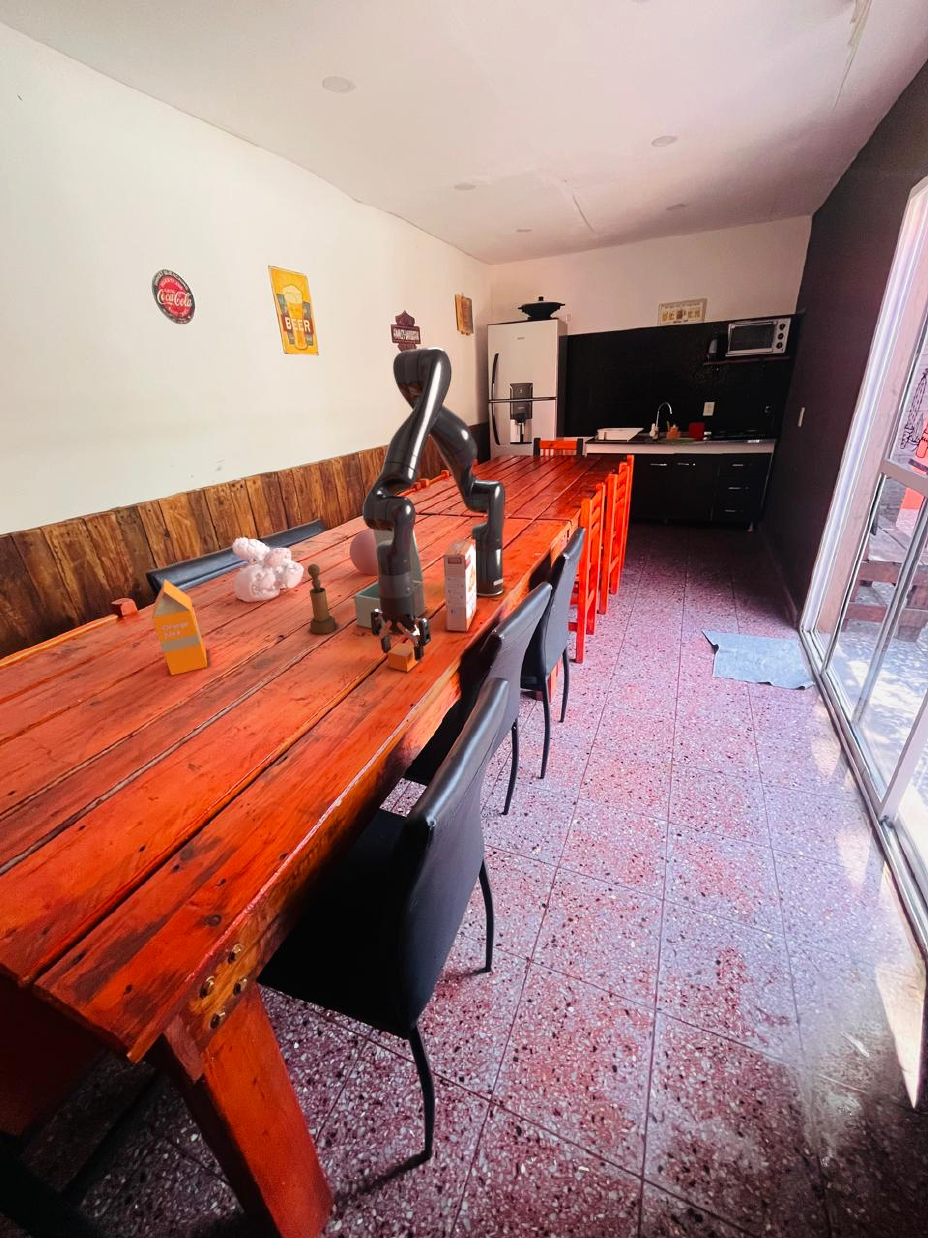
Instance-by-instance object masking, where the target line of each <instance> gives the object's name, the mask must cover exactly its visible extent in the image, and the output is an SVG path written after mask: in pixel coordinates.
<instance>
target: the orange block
mask: <svg viewBox="0 0 928 1238" xmlns="http://www.w3.org/2000/svg"><path fill="white" fill-rule="evenodd" d="M387 660H388V661H387V662H388V667H389V668H391V669H394V670H398V671H401V672H402V671H403V672H407V673H408V672H409V671H411V670H412V669H413V668H414V667H415V666H416V665H417V664H418V663H419V662H420V660H419V661H415V657H414V645H412V644H408V643H403V642H398V643H397V644H396V645H394V646H393V647H391V650H390V651H388V653H387Z"/></svg>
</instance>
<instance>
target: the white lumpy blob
mask: <svg viewBox="0 0 928 1238" xmlns="http://www.w3.org/2000/svg"><path fill="white" fill-rule="evenodd" d="M231 548H232V552H233V554H234V555H236V556H237V557H238V558H239V559H241V560H243V561H248V563H249V564H250V565H247V566H246V567H240V568H239V572H237V574H236V575H235V577H234V581H233V584H234V585H233V587H234V589H233V590H234V594H235V596H236V597H237V598H238V600H242V601H243V602H246V603H255V602H262V601H263V602H264V601H268V600H271V599H273V598H275V597H277V596H278V595H279V594H280V592H281V589H289V590H290V589H294V588H295V587H297V585H298V584H300V583H301V581H302V579H303V575H304V574H303V573H304V570H305V569H304V566H303V565H301V563H299V562H296V561H294V560H292V551H291V549H289V548H287V547H282V546H281V547H276V548H270V547H269V546H267V545H266V543H264V542H262V541H260V540H258V539H256V538H249V539H248V537H245V536H243V537H241V536H240V537H239V538H238V537H237V538H236V539H234V542H232V545H231ZM255 562H256V563H255Z"/></svg>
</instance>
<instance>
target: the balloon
mask: <svg viewBox="0 0 928 1238" xmlns="http://www.w3.org/2000/svg"><path fill="white" fill-rule="evenodd" d="M376 547H377V544H376V540H375V536H374V532H373V529H370V528H366V529H364V530H362V531H360V532H358V533H357V534H356V535H354V537H353V539H352V540H351V542H350V545H349V557H350V560H351V563H352V564H353V566H354V567H355V568H356V569H357V570H358V571H360V572H361V573H363V574H365V575H368V576H369V575H370V576H378V568H377V559H376Z"/></svg>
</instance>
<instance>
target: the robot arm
mask: <svg viewBox="0 0 928 1238" xmlns="http://www.w3.org/2000/svg"><path fill="white" fill-rule="evenodd" d="M392 374H393V378H394V380H395V381H394V382H395V384H396V386H397V388H398V390H399V392H400V395H402V397H403V399H404V401H406V403H407V404H408V405H409V407H410V408H411V409H412V411H411V412H410V414H409V415H408V416H407V418H406V419H404V421H403V422H402V424H401V425H400V426H399V427H398V428H397V430H396V431H395V433H394V434H393V436H392V437H391V439H390V441H389V444H388V446H387V448H386V449H387V450H386V453H385V457H384V460H383V464H382V468H381V471H380V473H379V474H378V477H377V478H376V480H375V482H374V483H373V484H372V487H371V488H370V490H369V492H368V494H367V495H366V497H365V499H364V502H363V505H362V519H363V521H364V524H365V525H366V527H367V528H368V529H373V530H380V531H390V532H393V540H388V541H384V542H381V543H379V544H378V545H377V547H376V559H377V568H378V575H377V581H378V589H379V597H380V607H381V609H380V608H377V609H375V610H374V611H372V612H371V613H370V614H371V628H370V629H371V635H373V636H376V637H378V638H379V640H380V647H381V648H380V649H381V650H382V653H383V654H386V655H388V651H390V650H391V649H392V646H391V635H390V633H391V631H392V634H396V633H397V634H399V635H402V636H405V637H406V639H407V640H409V641H410V642H411V643H412V644H413V646H414V657H415V661H419V662H420V660H422V659H423V657H424V656H425V649H424V647H425V646H427V645H428V644H429V643H430V642H431V641H432V636H431V628H430V620H429V618H428V617H427V616H424V617H423V618H420V617H418V618H417V617H416V615H415V595H414V582H413V581H414V580H413V575H412V571H411V560H410V546H411V540H412V534H413V529H414V528H415V525H416V518H417V512H416V508H415V507H416V506H415V505H414V503H413V501H412V500H411V499H410V498H408V497H406V496H401V495H397V494H399V493H402V492H405V491H409V490H411V489H412V488H413V487H414V486H415V484H416V480H417V478H418V477H417V476H418V472H419V468H420V465H421V462H422V457H423V453H424V451H425V447H426V443H427V441H428V438H429V437H430V438H431V440H432V442H433V444H434V446H435V448H436V450H437V452H438V454H439V456H440V457H441V459H442V461H443V462H444V464H445V466H446V467H447V468H448V471H449V472H450V475H451V477H452V478H453V480H454V482H455V485H456V487H457V489H458V492H459V496H460V497H461V500H462V501H463V504H464V506H465V508H466V509H467V510H468V511H469V512H471V513H473V514H481V515H487V518H486V521H485V522H481V523H478V524H475V525H473V526H471V529H470V539H474V540H476V596H478V597H485V598H488V597H489V598H490V597H496V596H499V595H501V594H502V593H503V592H504V577H503V576H504V527H505V512H506V511H505V509H506V489H505V486H504V484H503V482H502V481H499V480H490V479H489V480H487V479H478V478H477V477H476V476H475V474H474V472H473V468H474V466H475V464H476V461H477V457H478V445H477V442H476V439H475V438H474V435H473V433H472V431H471V429H470V427H469V425H468V424H467V423H466V421H464V419H462V418H461V417H460V416H459V415H458V414H456V413H455V412H454V411H452V410H451V409H449V408H448V407H447V406H445V404H444V402H445V399H446V397H447V394H448V393H449V389H450V387H451V382H452V363H451V360H450V357H449V355H448V353H447V352H446V351H445V350H444V349H443V348H440V347H423V348H414V349H407V350H403V351H401V352H399V353H397V354H396V355H395V357H394V359H393V363H392ZM414 530H415V529H414ZM382 619H383V620H384V622H385V623H386V624H385V626H384V627H383V629H382Z"/></svg>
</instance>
